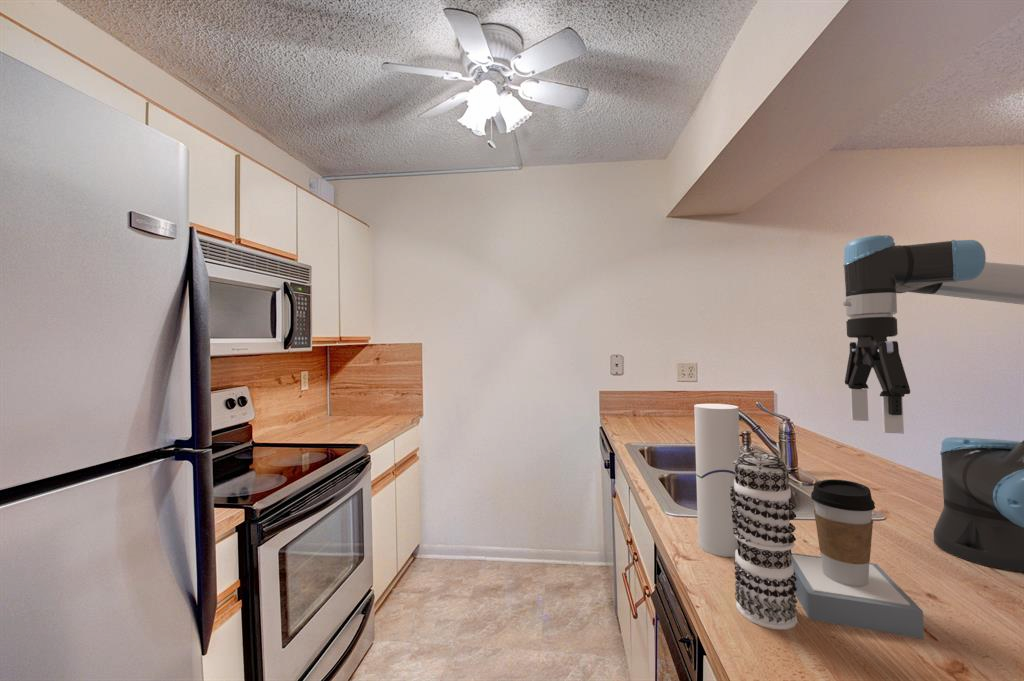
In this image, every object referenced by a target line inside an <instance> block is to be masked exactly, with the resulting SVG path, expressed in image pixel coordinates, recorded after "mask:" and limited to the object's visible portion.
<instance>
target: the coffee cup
mask: <svg viewBox="0 0 1024 681" xmlns="http://www.w3.org/2000/svg"><path fill="white" fill-rule="evenodd" d="M810 497H811V499H812V500H813V501H814V509H813V512H814V513H813V514H814V519H815V527H816V533H817V540H818V547H819V552H820V557H821V560H822V568H823V573H824V574H825V575H826V576H827V577H828V578H830V579H832V580H834V581H836V582H839V583H841V584H845V585H849V586H857V587H858V586H865V585H867V584H868V579H869V563H870V562H871V552H872V539H873V538H872V537H873V525H874V520H873V519H872V517H873V514H872V513H873V510H875V509H876V506H875V501H874V500H873V497H872V492H871V488H869V487H868V486H866V485H864V484H861V483H858V482H855V481H850V480H844V479H832V478H831V479H822V480H819V481H816V482H815V483H814V485H813V490H812V491H811V495H810Z"/></svg>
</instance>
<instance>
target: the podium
mask: <svg viewBox="0 0 1024 681" xmlns="http://www.w3.org/2000/svg"><path fill="white" fill-rule="evenodd" d="M791 556H792V557H791V560H792V562H793V572H794V573H795V577H796V578H797V580H796V581H794V582H795V587H796V588H797V591H794V594H796V598H797V600H799V603H800V604H801V606H802V608H803V610H804V613H805V615H807V616H806V617H807V618H808V619H809V620H810V621H813V622H814V621H816V622H822V623H826V624H827V623H828V624H832V625H833V624H834V625H839V626H845V627H851V628H854V629H855V628H857V629H862V630H868V631H873V632H874V631H875V632H880V633H885V634H892V635H896V636H897V635H899V636H903V637H908V638H909V637H910V638H916V639H920V640H921V639H922V640H925V629H924V627H925V626H924V624H925V623H924V610H922V609H921V608H920V606H918V605H917V603H915V601H913V599H911V598H910V596H909V595H908V594H907V593H906V592H905V591H904V590H903V589H902V588H901V586H899V585H898V584H897V583H896V582H895V581H894V580H893V579H892V578H891V576H889V575H888V574H887V573H886V572H885V571H884V570H883V568H881V567H880V565H878V563H873V562H871V563H870V562H869V579H868V584H867V585H865V586H858V587H857V586H849V585H845V584H841V583H839V582H836V581H834V580H832V579H830V578H828V577H827V576H826V575H825V574H824V573H823V568H822V560H821V556H819V555H818V556H816V555H810V554H809V555H808V554H800V553H793V552H791Z"/></svg>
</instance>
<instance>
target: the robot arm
mask: <svg viewBox="0 0 1024 681" xmlns="http://www.w3.org/2000/svg"><path fill="white" fill-rule="evenodd" d="M894 241H895V240H894V237H893V236H892V235H886V234H885V235H880V234H879V235H878V234H877V235H869V236H863V237H860V238H856V239H853V240H850V241H849V242H847V243H846V244H845V247H844V253H843V254H844V256H843V268H844V270H843V272H844V273H843V274H844V284H845V286H844V287H845V301H843V302H842V306H844V307H845V308H846V309H845V310H846V311H845V314H846V316H847V317H848V318H849V317H850V318H849V319H847V320H846V321H845V322H846V323H845V324H846V336H847V338H850V339H854V338H856V339H857V341H853V342H852V341H851V342H849V354H848V362H847V364H846V365H847V366H846V371H845V378H844V384H845V385H846V386H847V387H848V388H849V395H850V396H849V399H850V400H849V401H850V402H849V403H850V418H851V419H850V420H851V421H857V422H858V421H859V422H860V421H861V422H862V421H864V422H868V421H869V403H868V402H869V400H868V399H869V398H868V389H869V385H868V384H867V382H868V379H869V376H870V375H871V371H872V369H873V371H874V373H875V375H876V378H877V380H878V383H879V384H880V385H879V386H880V388H881V389H882V391H881V392H880V394H879V397H881V414H882V415H881V418H882V419H881V420H882V432H883V433H885V434H905V431H904V428H905V427H904V405H903V397H905V395H910V394H911V388H910V385H909V382H908V378H907V375H906V372H905V368H904V365H903V361H902V358H901V356H900V350H899V349H900V348H899V343H898V341H897V340H894V341H893V340H888V338H890V337H891V338H892V337H896V336H898V318H896V317H895V316H894V315H896V314H898V301H897V297H898V296H897V294H903V293H904V294H906V293H911V294H913V293H914V294H923V295H936V296H944V297H953V298H962V299H970V300H979V301H987V302H988V301H989V302H995V303H1005V304H1013V305H1023V306H1024V265H1023V264H1013V263H1012V264H1011V263H1000V262H988V261H987V262H986V260H987V259H986V250H985V248H984V245H983V244H982V243H980V242H979V241H977V240H975V239H964V240H963V239H959V240H958V239H957V240H956V239H951V240H947V241H946V240H945V241H939V242H928V243H918V244H906V245H902V244H901V245H899V244H898V245H897V244H896V242H894ZM941 441H942V442H941V450H940V452H939V454H940V458H941V476H942V492H943V493H942V494H943V509H942V511H941V513H940V515H939V518H938V520H937V522H936V524H935V527H934V529H933V543H934V545H936V546H937V547H938V548H939V549H941V550H942V551H944V552H946V553H949V554H950V555H953V556H955V557H958V558H961V559H964V560H966V561H969V562H972V563H976V564H980V565H982V566H988V567H991V568H996V569H1001V570H1007V571H1014V572H1020V573H1024V440H1022V441H1018V440H1009V439H1008V440H1007V439H996V438H980V437H977V438H976V437H975V438H974V437H958V436H957V437H954V436H953V437H952V436H951V437H945V438H944V439H943V440H941Z"/></svg>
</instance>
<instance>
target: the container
mask: <svg viewBox="0 0 1024 681" xmlns="http://www.w3.org/2000/svg"><path fill="white" fill-rule="evenodd" d="M693 408H694V409H693V410H694V412H693V413H694V441H695V473H696V474H695V478H696V479H695V480H696V482H695V483H696V512H697V516H696V517H697V542H698V543H697V544H698V547H699V548H700V550H703V551H704V552H706V553H709V554H711V555H714V556H719V557H724V558H735V550H736V549H738V546H737V538H736V537H735V536H734V533H733V532H734V531H733V527H734V526H735V523H733V522H732V514H733V513H732V509H731V505H733V501H732V500H731V499H730V497H731V496H730V493H731V492H732V491H731V490H730V489H731V488H730V487H732V486H734V480H735V465H734V464H733V461H735V460H737V459H738V458H739V456H740V455H741V449H740V446H741V443H740V442H741V441H740V416H739V414H740V411H739V406H737V405H733V404H727V403H726V404H725V403H697V404H694V405H693ZM734 489H735V488H734ZM735 497H736V500H737V496H736V495H735ZM736 508H737V507H736ZM736 518H737V517H736Z"/></svg>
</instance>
